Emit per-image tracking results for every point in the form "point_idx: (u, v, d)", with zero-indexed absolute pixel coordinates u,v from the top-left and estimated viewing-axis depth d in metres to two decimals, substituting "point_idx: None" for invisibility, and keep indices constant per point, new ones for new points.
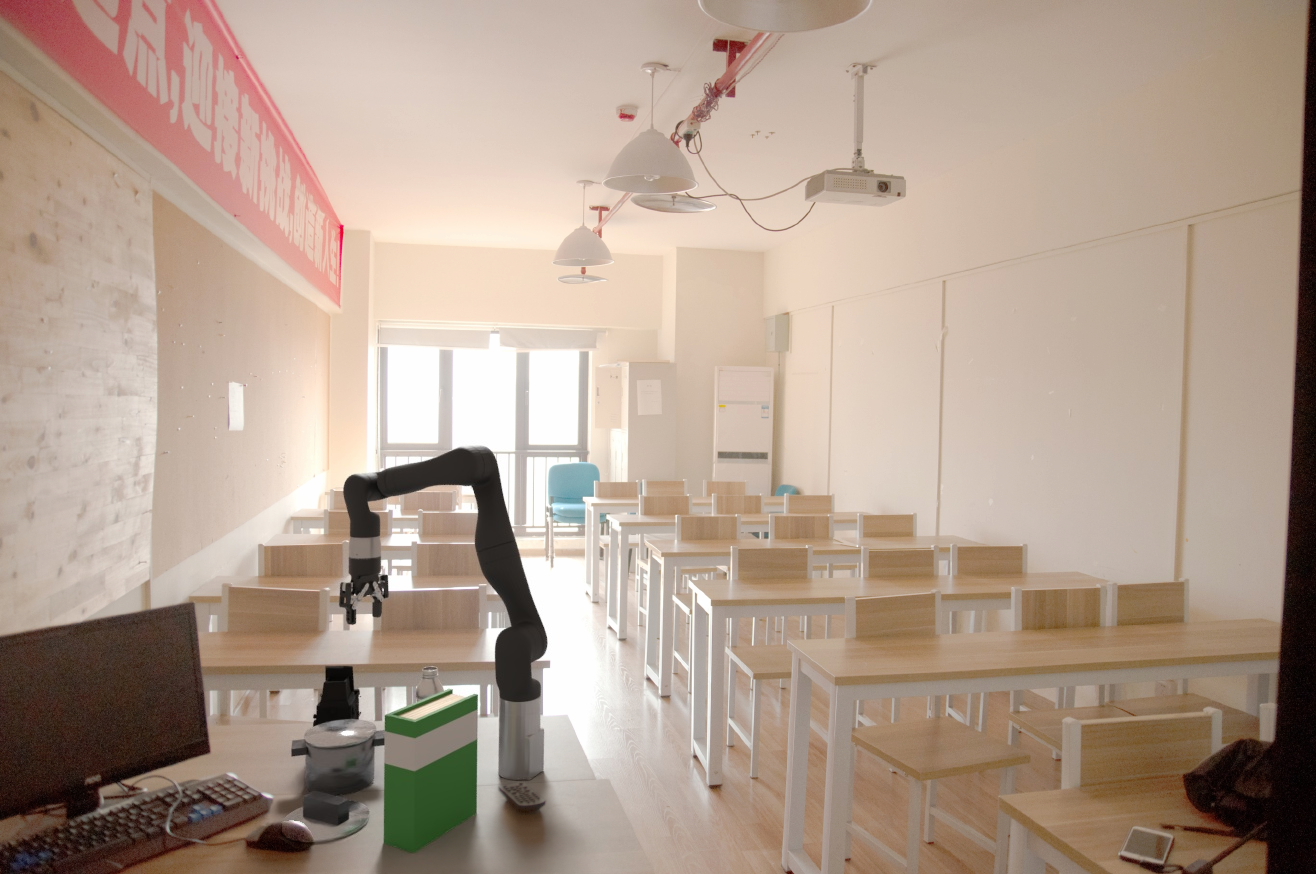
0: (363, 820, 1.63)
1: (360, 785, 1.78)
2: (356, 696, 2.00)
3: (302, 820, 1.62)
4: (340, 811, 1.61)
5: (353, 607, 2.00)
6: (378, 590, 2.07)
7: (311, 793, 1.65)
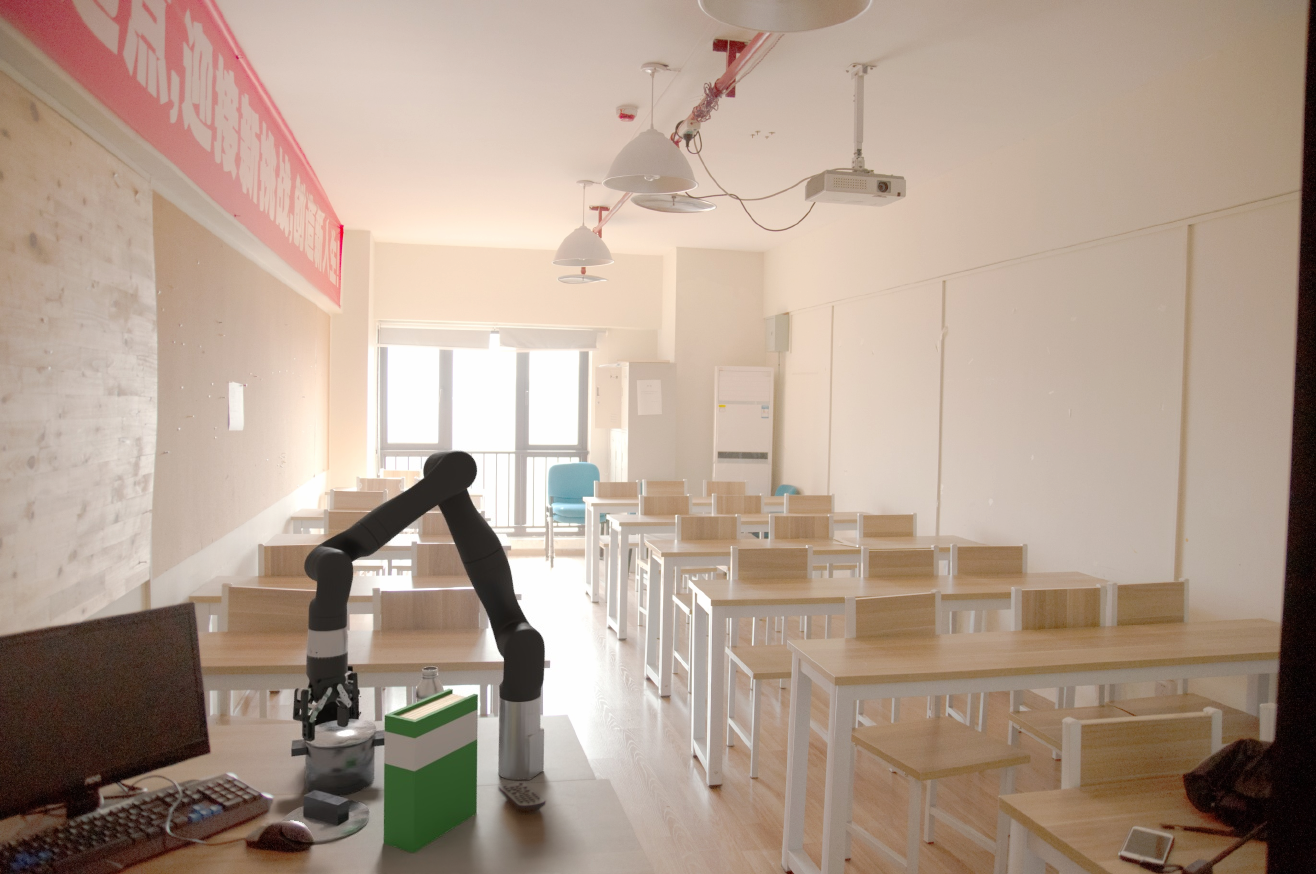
0: (363, 820, 1.63)
1: (360, 785, 1.78)
2: None
3: (302, 820, 1.62)
4: (340, 811, 1.61)
5: (311, 720, 1.58)
6: (344, 694, 1.65)
7: (311, 793, 1.65)
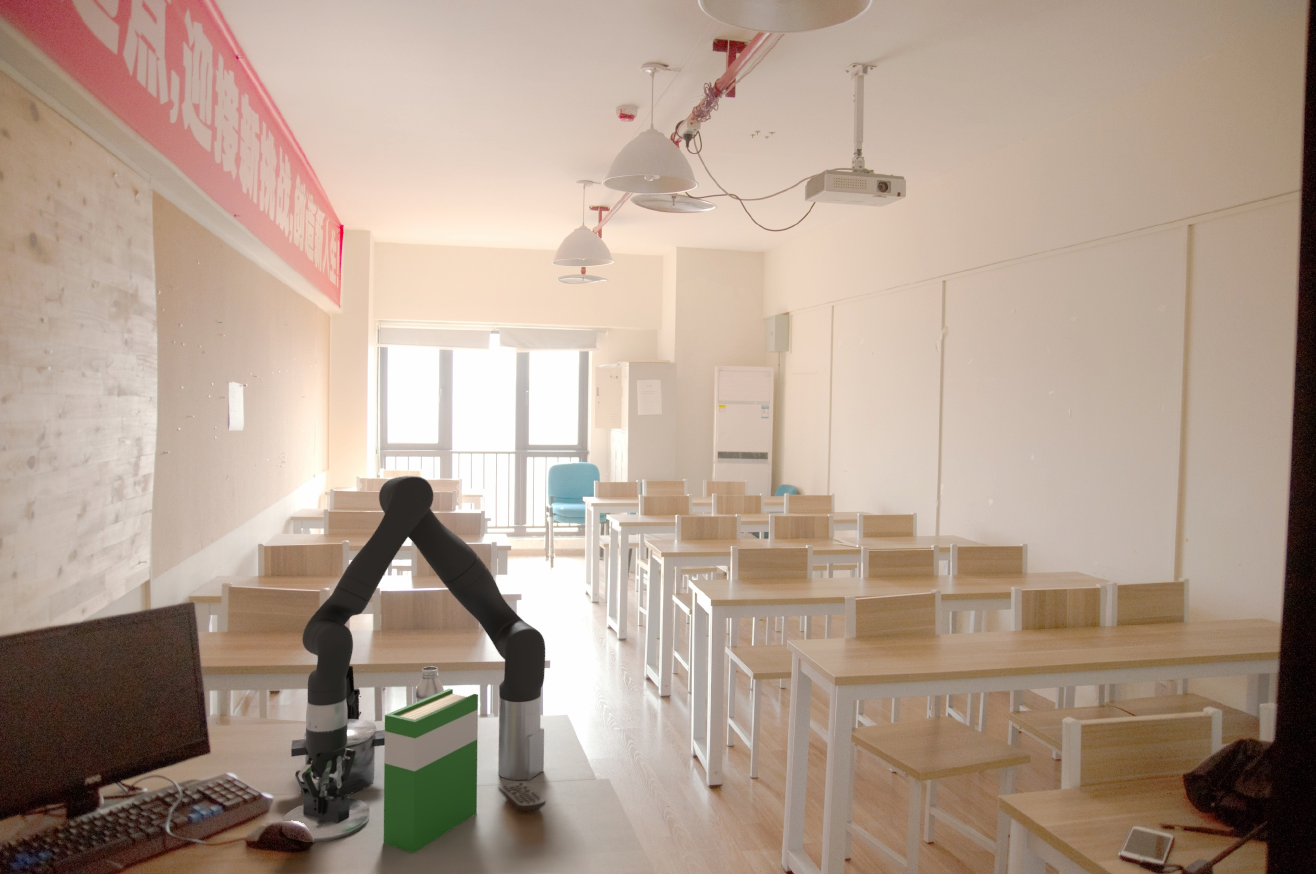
0: (363, 818, 1.63)
1: (360, 785, 1.78)
2: (356, 696, 2.00)
3: (302, 818, 1.63)
4: (340, 808, 1.61)
5: (321, 795, 1.61)
6: (340, 770, 1.65)
7: None
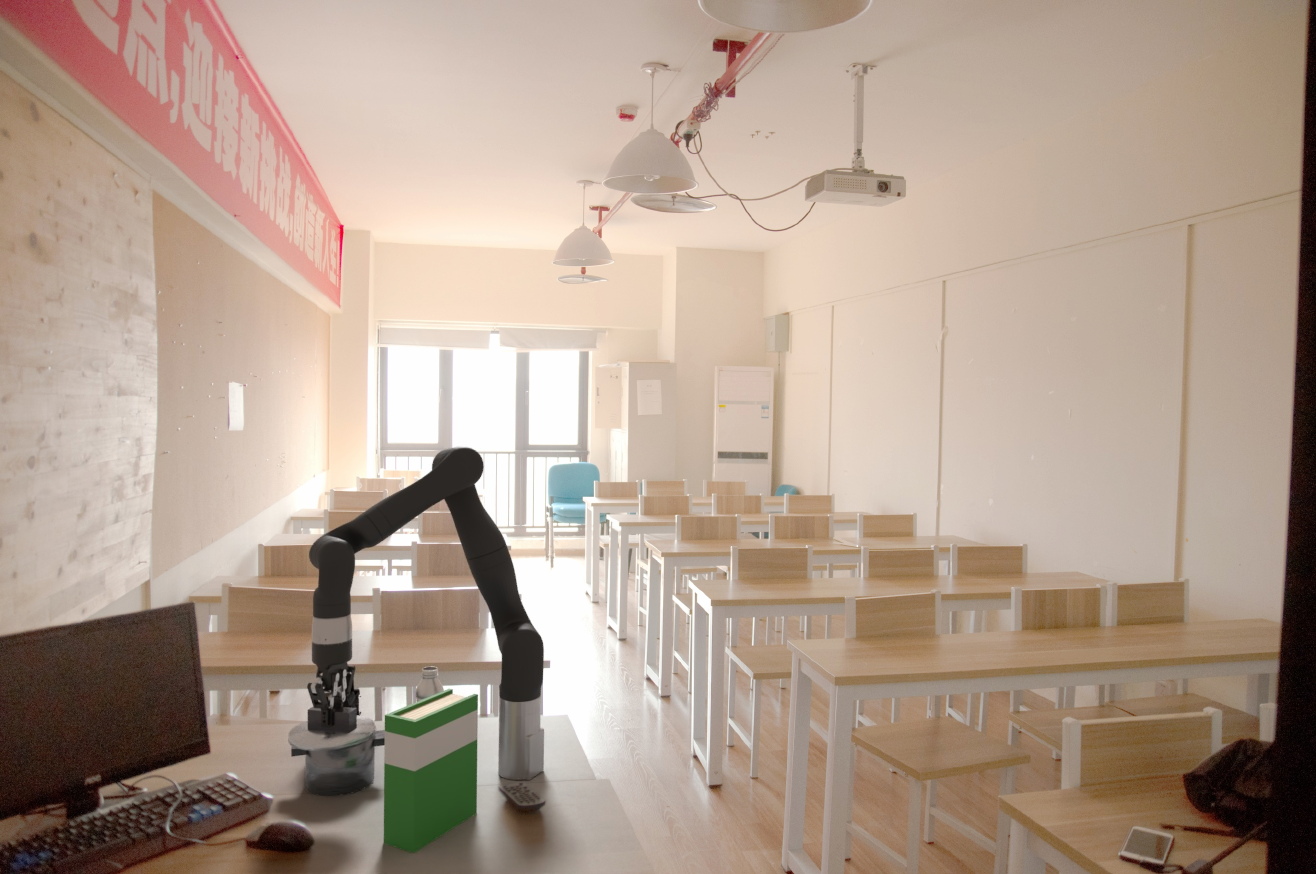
0: (372, 727, 1.68)
1: (360, 785, 1.78)
2: (356, 696, 2.00)
3: (309, 732, 1.65)
4: (350, 719, 1.65)
5: (331, 707, 1.64)
6: (345, 683, 1.68)
7: None
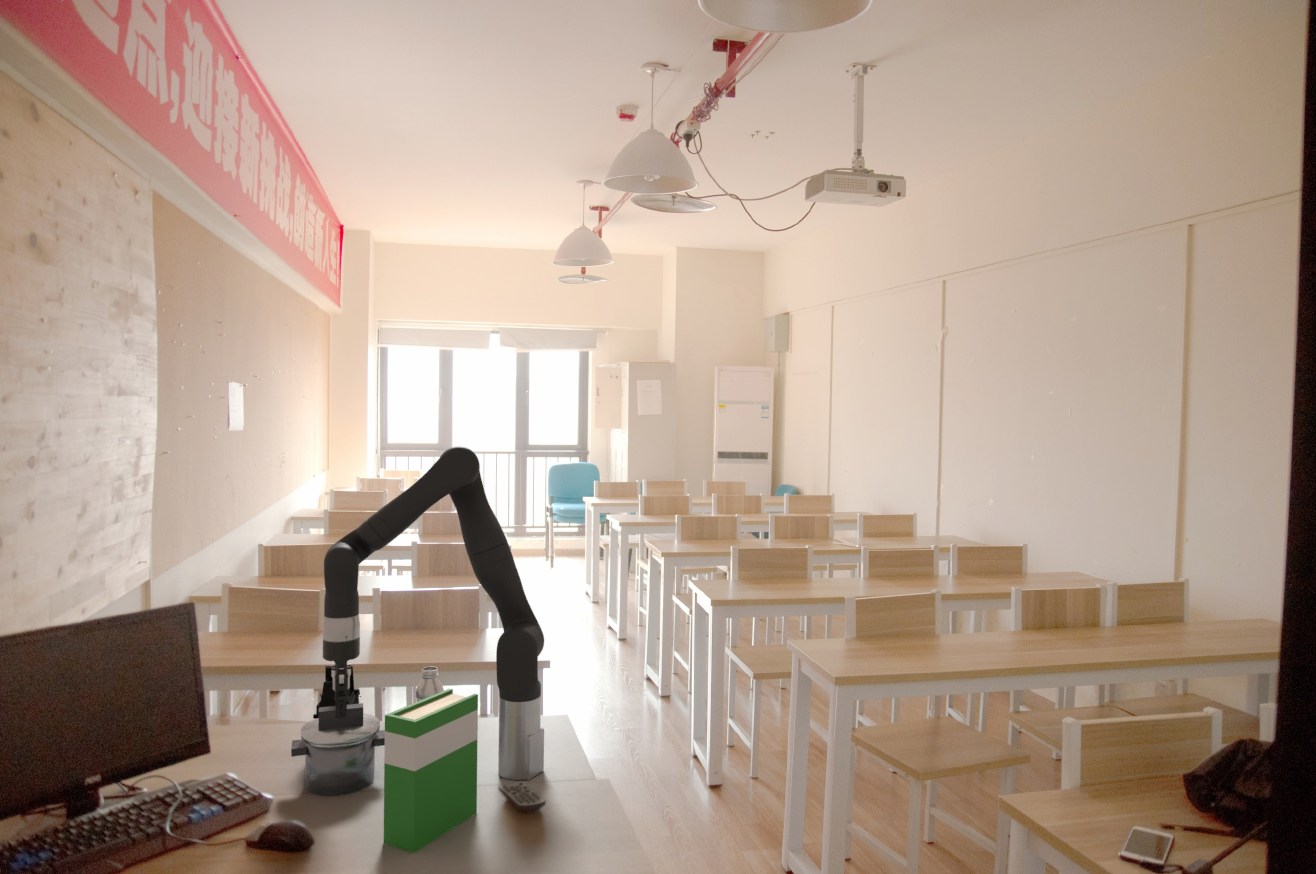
0: (376, 718, 1.86)
1: (360, 785, 1.78)
2: (356, 696, 2.00)
3: (324, 732, 1.78)
4: None
5: (347, 698, 1.78)
6: None
7: (321, 709, 1.80)
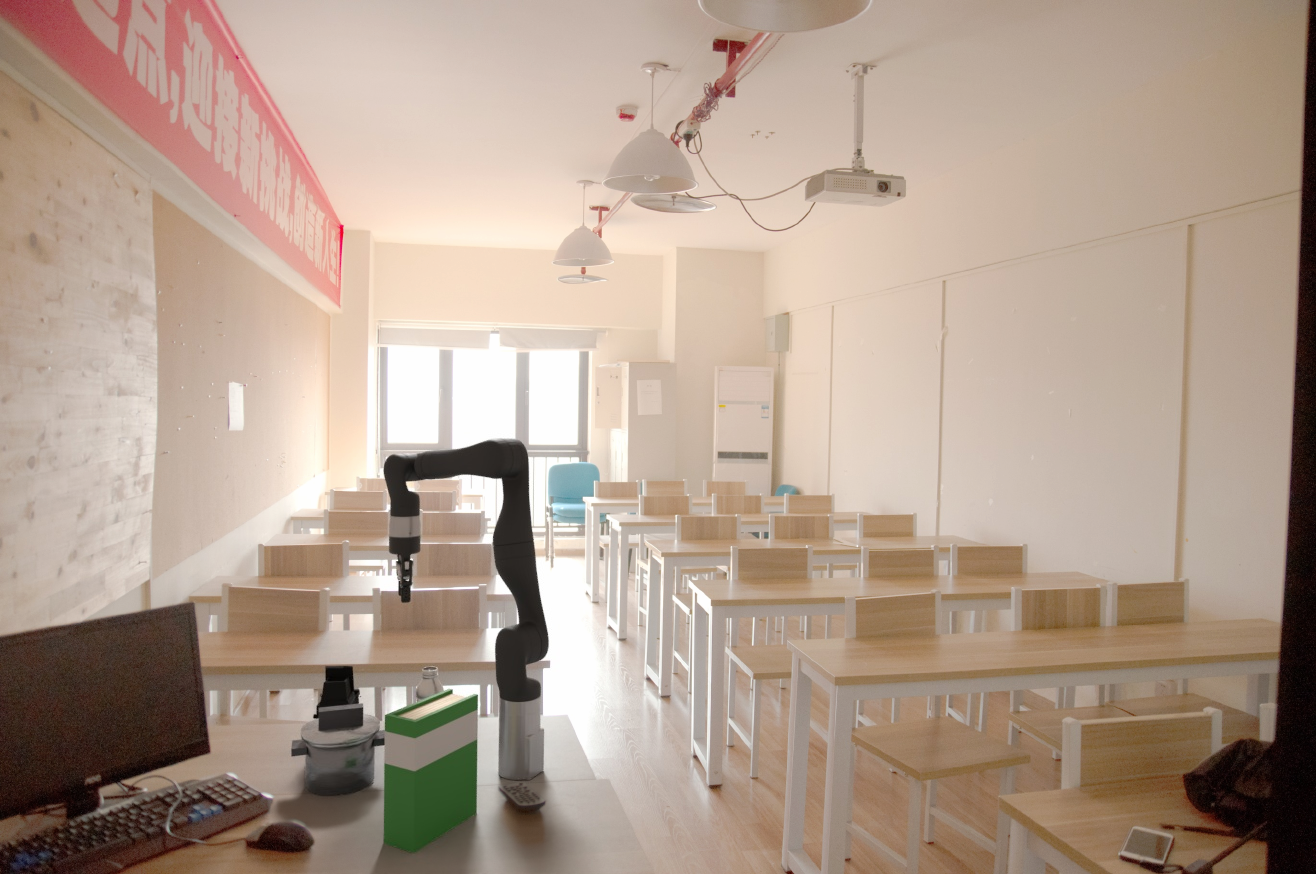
0: (376, 718, 1.86)
1: (360, 785, 1.78)
2: (356, 696, 2.00)
3: (324, 732, 1.78)
4: None
5: None
6: None
7: (321, 709, 1.80)
